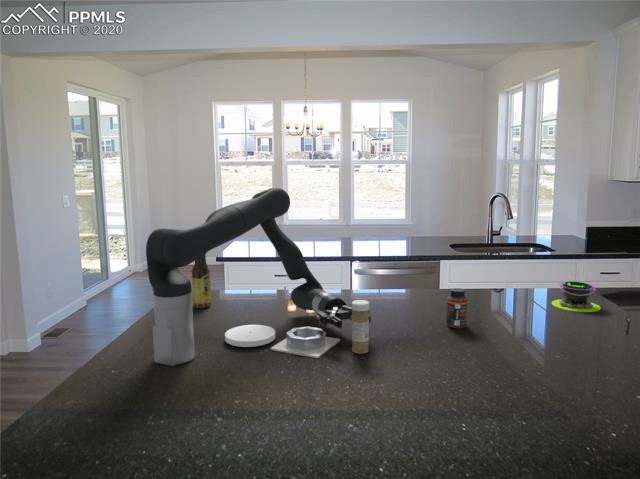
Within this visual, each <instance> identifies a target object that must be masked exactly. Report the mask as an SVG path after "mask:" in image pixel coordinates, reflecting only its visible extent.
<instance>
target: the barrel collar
mask: <svg viewBox="0 0 640 479" xmlns="http://www.w3.org/2000/svg"><path fill="white" fill-rule="evenodd" d="M326 334H327V333H326V331H324V330H323V329H322V328H321V327H313V326H309V325H308V326H300V327H293V328H292V329H290V330H288V331H287V332H286V338H287V344H288V345H289V347H290V348H292V349H298V350H303V351H306V350H313V349H319V348H321V347H322V346H323V345H324V344H326V337H327V336H326Z"/></svg>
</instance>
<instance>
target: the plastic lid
mask: <svg viewBox="0 0 640 479" xmlns="http://www.w3.org/2000/svg"><path fill="white" fill-rule="evenodd" d="M275 339H276V330H275V329H274V328H273V327H271V326H267V325H264V324H245V325H240V326H235V327H232V328H230V329H228V330H226V332H224V341H225V342H226V343H227V344H229V345H230V346H234V347H239V348H240V347H243V348H252V347H260V346H264V345H267V344H270V343H271V342H273V341H274V340H275Z"/></svg>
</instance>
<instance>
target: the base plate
mask: <svg viewBox="0 0 640 479" xmlns="http://www.w3.org/2000/svg"><path fill="white" fill-rule="evenodd" d="M340 341H341V338H337V337H331V336H330V337H329V336H326V344H324V345H323V346H322V347H321V348H319V349H313V350H306V351H303V350H298V349H292V348H290V347H289V345H288V344H287V337H285V338H284V339H283V340H281V341H279V342H278V343H276V344H275V345H273V346H272V347H270V350H271V351H275V352H280V353H285V354H286V353H287V354H292V355H297V356H303V357H307V358H314V359H320V358H321V357H322V356H323V355H325V353H327V352H328V351H329V350H331V348H333V347H334V346H335V345H337V344H338V343H339V342H340Z"/></svg>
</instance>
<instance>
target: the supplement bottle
mask: <svg viewBox="0 0 640 479" xmlns="http://www.w3.org/2000/svg"><path fill="white" fill-rule="evenodd" d="M465 290H466V289H463V288H451V289H450V294H449V295H448V296H447V297H446V298H447V300H446V317H445V318H446V323H445V324H446V326H447V327H448V328H452V329H456V330H457V329H459V330H460V329H464V328H466V327H467V322H468V321H467V320H468V297H467V296H466V295H465V292H466V291H465Z"/></svg>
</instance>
